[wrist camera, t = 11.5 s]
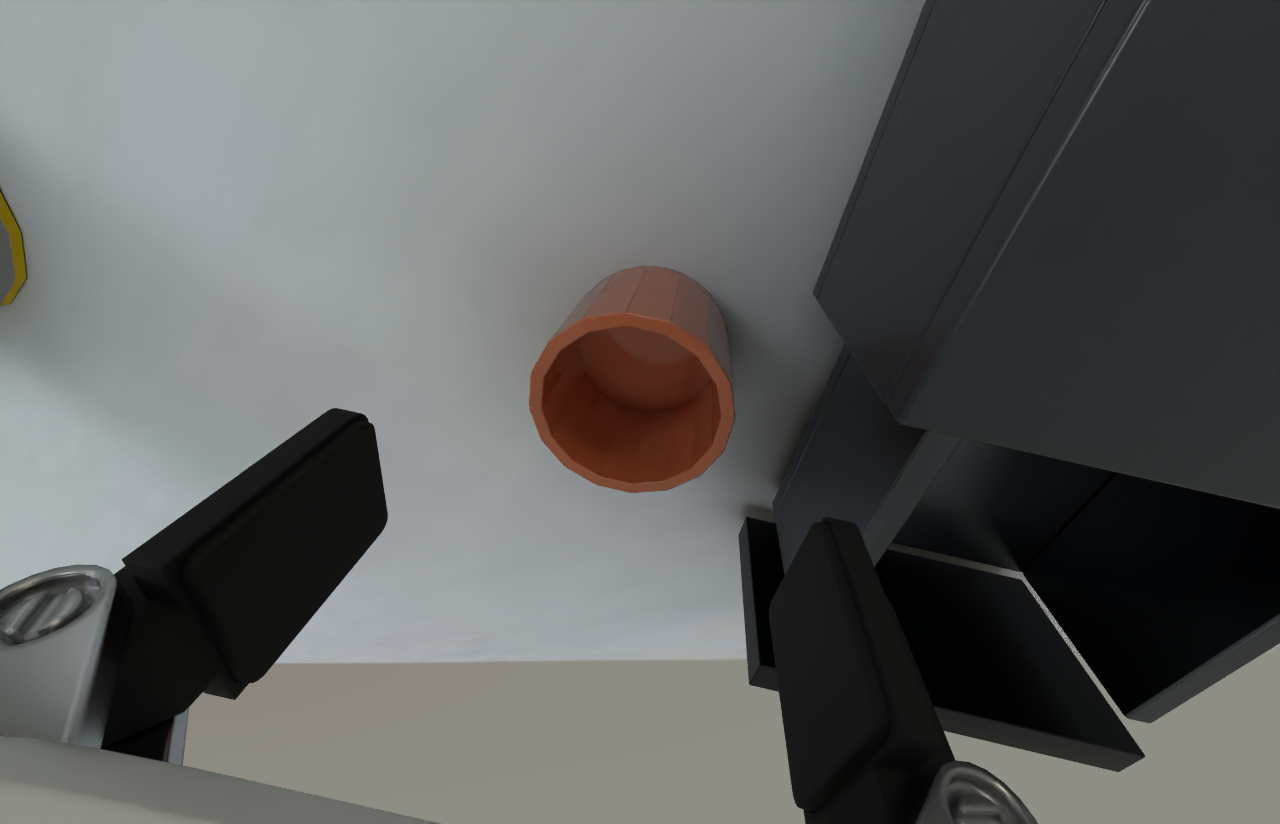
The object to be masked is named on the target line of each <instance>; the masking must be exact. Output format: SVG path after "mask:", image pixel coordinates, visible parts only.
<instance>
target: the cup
mask: <svg viewBox="0 0 1280 824" xmlns="http://www.w3.org/2000/svg"><path fill="white" fill-rule="evenodd" d="M529 407H530V411H531V414H532V417H533V419H534V422H535V425H536V427H537V430H538V432H539V435H540V438H541V439H542V441H543V442H544V444H545V445H546V446H547V447H548V448H549V449H550V450H551V451H552V453H553V454H554V455H555V456H556V457H557V458H558V459H559V460H560V462H561V463H562V464H563V465H564V466H566V468H568V469H570V470H572V471H573V472H575V473H577V474H579V475H580V476H582V477H584V478H585V479H587V480H589V481H591V482H592V483H594V484H597V485H599V486H604V487H608V488H612V489H617V490H621V491H625V492H630V493H631V492H632V493H638V492H651V491H663V490H667V489H668V490H669V489H671V488H674V487H676V486H678V485H681V484H683V483H685V482H687V481H690V480H692V479H694V478H697V477H699V475H701V474H702V473H703V472H704V471H705V470H706V469H707V468H708V467H709V466H710V465H711V464H712V463H713V462H714V461H715V460H716V459H717V458H718V457H719V456H720V455H721V454H722V453H723V451H724V450H725V447H726V444H727V441H728V438H729V436H730V433H731V430H732V427H733V424H734V421H735V406H734V395H733V384H732V372H731V361H730V350H729V343H728V333H727V327H726V323H725V321H724V318H723V315H722V313H721V311H720V309H719V307H718V305H717V304H716V302H715V301H714V299H713V298H712V296H711V295H710V294H709V293H708V292H707V291H706V290H705V289H704V288H703V287H702V286H700V285H699V284H698V283H697V282H696V281H694V280H692V279H691V278H689V277H687V276H686V275H683V274H681V273H679V272H677V271H673V270H670V269H666V268H661V267H654V266H642V267H634V268H629V269H625V270H622V271H619V272H617V273H615V274H612V275H610V276H609V277H607V278H605V279H604V280H602V281H601V282H600V283H599V284H597V285H596V286H595V287H594V288H593V289H592V290H591V291H589V292H588V293H587V294H586V295H585V297H584V298H583V299H582V300H581V302H580V303H579V304H578V305H577V307H576V308H575V309H574V310H573V312H572V313H571V314H570V315H569V317H568V318H567V319H566V320H565V322H564V323H563V324H562V325H561V327H560V328H559V329H558V330H557V332H556V333H555V334H554V336H553V337H552V338H551V339H550V341H549V342H548V344H547V345H546V347H545V349H544V350H543V352H542V354H541V356H540V357H539V359H538V361H537V363H536V364H535V366H534V368H533V370H532V373H531V381H530V398H529Z"/></svg>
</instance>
